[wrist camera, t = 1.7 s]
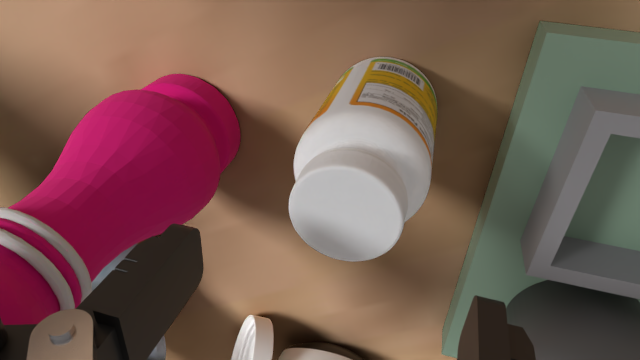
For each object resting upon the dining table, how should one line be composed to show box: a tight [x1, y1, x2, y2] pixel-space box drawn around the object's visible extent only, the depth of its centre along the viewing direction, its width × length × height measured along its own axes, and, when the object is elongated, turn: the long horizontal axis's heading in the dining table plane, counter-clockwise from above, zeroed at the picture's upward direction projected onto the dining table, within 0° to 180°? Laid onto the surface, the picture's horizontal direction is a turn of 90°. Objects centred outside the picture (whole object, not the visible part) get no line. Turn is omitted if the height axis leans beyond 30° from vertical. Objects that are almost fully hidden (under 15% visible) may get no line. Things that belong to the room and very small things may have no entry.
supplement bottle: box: [289, 57, 437, 262], centre depth 19 cm, size 5×5×10 cm
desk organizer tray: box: [442, 21, 640, 360], centre depth 20 cm, size 20×12×8 cm, turn 177°
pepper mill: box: [0, 74, 240, 325], centre depth 19 cm, size 7×7×20 cm
